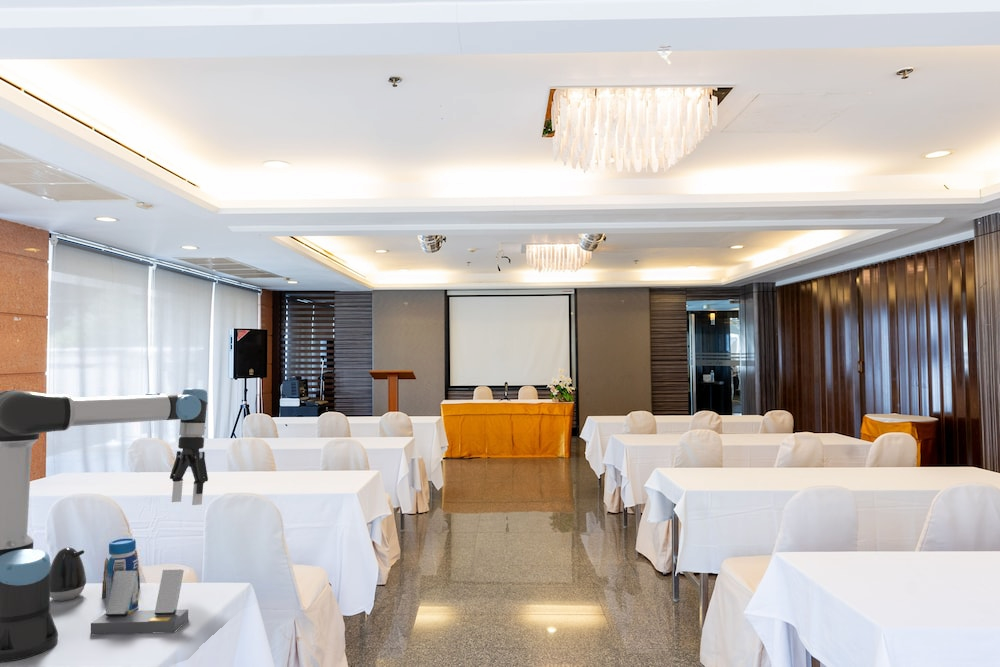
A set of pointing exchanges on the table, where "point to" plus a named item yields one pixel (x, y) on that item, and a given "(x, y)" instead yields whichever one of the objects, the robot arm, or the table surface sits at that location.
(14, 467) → the robot arm
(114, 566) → the beverage bottle
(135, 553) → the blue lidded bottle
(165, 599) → the right lever
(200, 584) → the table surface
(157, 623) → the switch base
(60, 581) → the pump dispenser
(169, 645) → the table surface
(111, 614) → the left lever
